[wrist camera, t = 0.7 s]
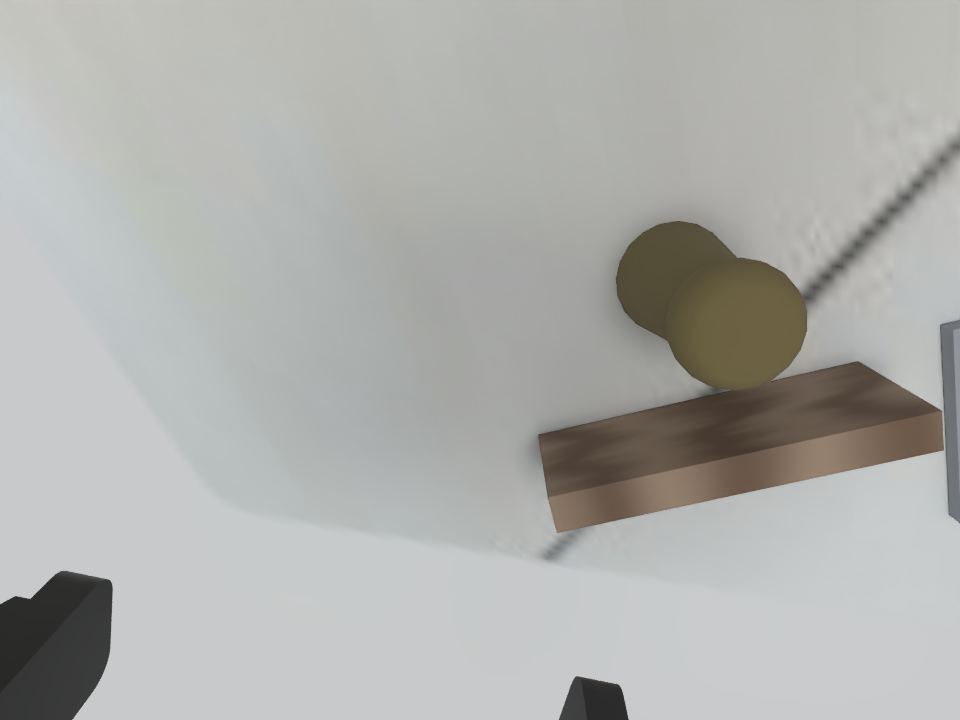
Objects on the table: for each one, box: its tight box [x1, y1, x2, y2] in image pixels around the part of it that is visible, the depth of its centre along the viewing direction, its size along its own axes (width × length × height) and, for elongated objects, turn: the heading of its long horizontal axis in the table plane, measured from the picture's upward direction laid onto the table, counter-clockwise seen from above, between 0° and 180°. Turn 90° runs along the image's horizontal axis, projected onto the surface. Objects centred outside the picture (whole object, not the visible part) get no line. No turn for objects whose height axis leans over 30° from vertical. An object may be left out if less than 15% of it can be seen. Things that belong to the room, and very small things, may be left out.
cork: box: [616, 221, 807, 390], centre depth 29 cm, size 6×6×11 cm
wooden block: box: [538, 362, 944, 533], centre depth 34 cm, size 18×2×7 cm, turn 105°
